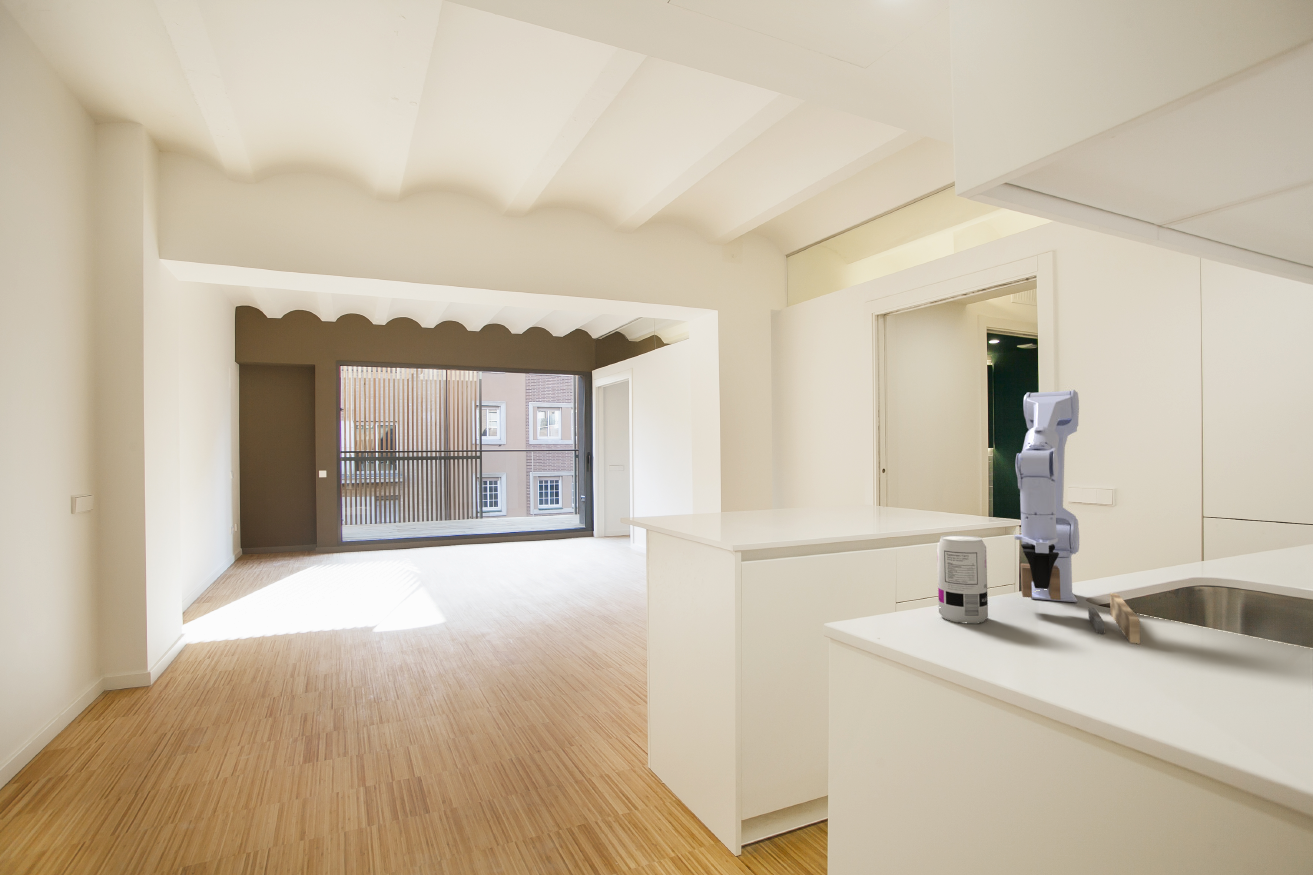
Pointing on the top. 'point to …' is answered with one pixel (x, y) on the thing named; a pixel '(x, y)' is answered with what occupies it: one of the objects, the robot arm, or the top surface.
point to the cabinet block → (1027, 581)
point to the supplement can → (962, 578)
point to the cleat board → (1118, 618)
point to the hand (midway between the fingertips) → (1040, 584)
